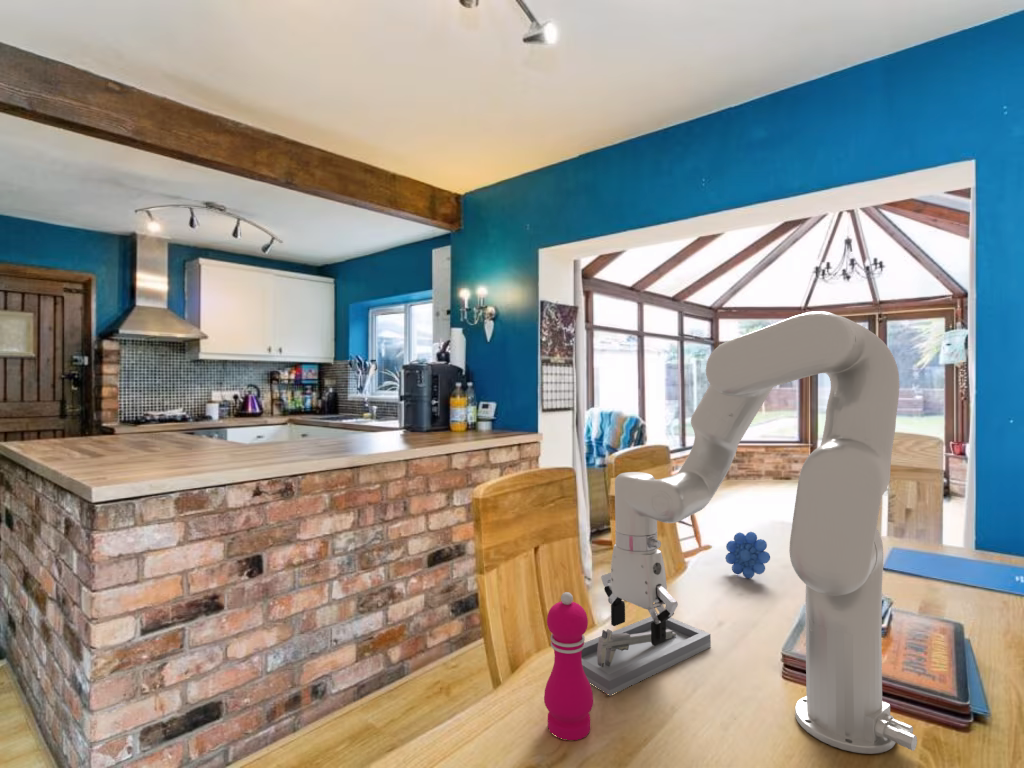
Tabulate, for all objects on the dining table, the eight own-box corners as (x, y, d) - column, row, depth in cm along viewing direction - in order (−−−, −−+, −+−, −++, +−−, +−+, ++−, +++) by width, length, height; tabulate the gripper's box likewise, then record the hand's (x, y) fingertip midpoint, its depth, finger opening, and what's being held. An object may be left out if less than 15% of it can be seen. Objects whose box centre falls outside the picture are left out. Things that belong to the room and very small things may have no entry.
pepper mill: (589, 712, 85) (587, 582, 85) (598, 742, 78) (595, 601, 78) (542, 713, 85) (540, 584, 85) (547, 744, 78) (544, 603, 78)
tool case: (710, 647, 105) (710, 634, 105) (609, 696, 89) (609, 681, 89) (660, 624, 115) (659, 612, 115) (561, 666, 99) (560, 652, 99)
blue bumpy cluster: (778, 580, 139) (777, 532, 139) (765, 586, 135) (764, 537, 134) (734, 568, 148) (734, 523, 148) (721, 574, 144) (720, 528, 144)
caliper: (601, 670, 96) (601, 634, 96) (597, 667, 97) (596, 631, 97) (676, 636, 108) (676, 604, 108) (672, 634, 109) (671, 602, 109)
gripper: (688, 547, 97) (690, 645, 97) (616, 527, 111) (617, 612, 111) (660, 556, 93) (662, 658, 93) (588, 533, 107) (590, 622, 107)
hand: (637, 633), depth 102 cm, fingers open, 9 cm apart
